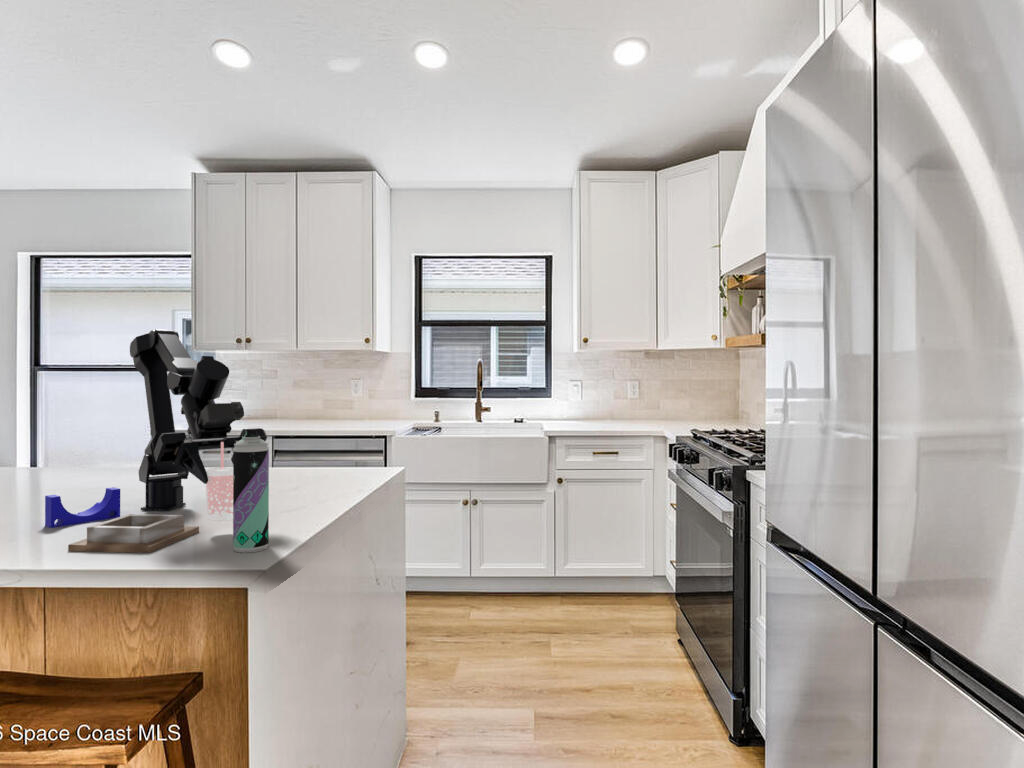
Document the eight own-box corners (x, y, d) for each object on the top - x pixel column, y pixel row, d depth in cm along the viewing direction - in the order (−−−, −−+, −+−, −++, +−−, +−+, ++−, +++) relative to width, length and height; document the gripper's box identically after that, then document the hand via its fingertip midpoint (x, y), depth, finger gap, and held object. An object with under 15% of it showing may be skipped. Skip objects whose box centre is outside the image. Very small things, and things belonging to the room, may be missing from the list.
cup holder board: (68, 550, 102) (68, 529, 102) (126, 530, 116) (126, 511, 116) (149, 552, 101) (149, 531, 101) (199, 531, 115) (199, 513, 115)
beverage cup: (245, 518, 113) (245, 442, 113) (209, 523, 109) (210, 444, 109) (233, 512, 118) (233, 439, 118) (198, 517, 114) (198, 441, 113)
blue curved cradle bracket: (110, 515, 130) (110, 486, 130) (120, 517, 127) (120, 488, 127) (42, 525, 120) (42, 494, 120) (51, 529, 118) (51, 497, 118)
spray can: (225, 551, 102) (225, 429, 102) (248, 542, 107) (249, 427, 107) (253, 553, 100) (253, 430, 100) (275, 545, 106) (275, 428, 106)
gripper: (159, 387, 109) (180, 456, 102) (263, 387, 123) (289, 448, 115) (145, 429, 115) (164, 497, 107) (246, 424, 128) (269, 484, 121)
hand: (225, 480), depth 112 cm, fingers closed on beverage cup, 6 cm apart
